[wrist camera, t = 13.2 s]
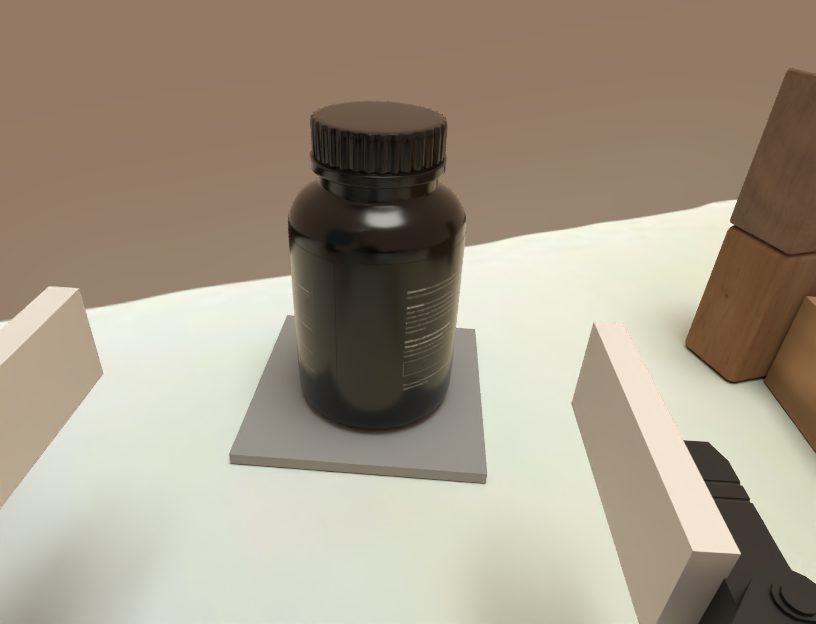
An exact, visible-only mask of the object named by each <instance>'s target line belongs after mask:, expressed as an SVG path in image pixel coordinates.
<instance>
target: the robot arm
mask: <svg viewBox="0 0 816 624" xmlns="http://www.w3.org/2000/svg"><path fill="white" fill-rule="evenodd" d="M102 375H103V371H102V367H101V364H100V360H99V356H98V353H97V349H96V346H95V342H94V339H93V335H92V332H91V328H90V325H89V321H88V318H87V314H86V311H85V308H84V304H83V300H82V297H81V293H80V290H79V288H66V287H50V286H49V287H48V288H47V289H46V290H45V291H43V292H42V293H41V294H40V295H39V296H38V297H37V298H36V299H34V300H33V301H32V302H31V303H30V304H29V305H28V306H27V307H26V308H24V310H22V311H21V312H20V313H19V314H18V315H17V316H16V317H14V318H13V319H12V320H11V321H10V322H9V323H8V324H7V325H5V326H4V327H3V328H2V329H1V330H0V509H1V507H2V506H3V505H4V504H5V502H6V501H7V500H8V498H9V497H10V496H11V494H12V493H13V492H14V490H15V489H16V488H17V486H18V485H19V484H20V483H21V481H22V480H23V479H24V477H25V476H26V475H27V473H28V472H29V471H30V469H31V468H32V467H33V465H34V464H35V463H36V462H37V460H38V459H39V458H40V456H41V455H42V454H43V452H44V451H45V450H46V448H47V447H48V446H49V444H50V443H51V442H52V440H53V439H54V438H55V437H56V435H57V434H58V433H59V431H60V430H61V429H62V427H63V426H64V425H65V423H66V422H67V421H68V419H69V418H70V417H71V416H72V414H73V413H74V412H75V410H76V409H77V408H78V406H79V405H80V404H81V402H82V401H83V400H84V398H85V397H86V396H87V394H88V393H89V392H90V391H91V389H92V388H93V387H94V385H95V384H96V383H97V381H98V380H99V379H100V377H101V376H102ZM572 407H573V410H574V414H575V417H576V420H577V423H578V427H579V430H580V433H581V436H582V440H583V443H584V446H585V449H586V453H587V456H588V459H589V462H590V466H591V469H592V472H593V475H594V479H595V482H596V485H597V489H598V492H599V495H600V498H601V502H602V505H603V508H604V511H605V515H606V518H607V521H608V524H609V528H610V531H611V534H612V537H613V541H614V544H615V547H616V550H617V554H618V557H619V560H620V563H621V567H622V570H623V573H624V577H625V580H626V583H627V586H628V590H629V593H630V596H631V599H632V603H633V606H634V609H635V612H636V616H637V619H638V622H639V624H816V584H815V583H814V582H812V581H811V580H810V579H808V578H807V577H806V576H803V575H801V574H799V573H797V572H794V571H792V570H791V568H790V567H789V566H788V564H787V562H786V560H785V559H784V557H783V555H782V553H781V552H780V550H779V548H778V546H777V545H776V543H775V541H774V540H773V538H772V536H771V534H770V533H769V531H768V529H767V527H766V526H765V524H764V522H763V520H762V519H761V517H760V515H759V513H758V512H757V510H756V508H755V507H754V505H753V503H750V498H749V496H748V494H747V493H746V491H745V489H744V487H743V486H740V480H739V479H738V477H737V475H736V474H735V472H734V470H733V468H732V467H731V465H730V463H729V461H728V460H727V459H726V458H725V457H724V456H722V455H721V454H720V453H719V452H718V451H717V450H716V449H715V448H714V447H713V446H712V445H711V444H710V443H709V442H700V441H685V440H683V439H682V437H681V435H680V433H679V431H678V429H677V427H676V425H675V423H674V421H673V419H672V417H671V415H670V413H669V411H668V410H667V408H666V406H665V404H664V402H663V400H662V398H661V396H660V394H659V392H658V390H657V388H656V386H655V384H654V382H653V380H652V378H651V376H650V374H649V372H648V370H647V368H646V366H645V364H644V362H643V360H642V358H641V356H640V355H639V353H638V351H637V349H636V347H635V345H634V343H633V341H632V339H631V337H630V335H629V333H628V331H627V329H626V327H625V325H624V324H622V323H606V322H594V323H593V326H592V330H591V334H590V338H589V341H588V345H587V349H586V352H585V356H584V360H583V363H582V367H581V371H580V374H579V378H578V382H577V385H576V389H575V393H574V396H573V400H572Z"/></svg>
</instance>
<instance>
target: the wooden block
mask: <svg viewBox="0 0 816 624" xmlns="http://www.w3.org/2000/svg"><path fill="white" fill-rule="evenodd" d="M730 222H731V223H732V224H734V226H732V227H730V228H729V230H728V231H727V234H726V236H725V239H724V241H723V244H722V247H721V249H720V252H719V255H718V257H717V260H716V262H715V265H714V268H713V270H712V273H711V276H710V278H709V281H708V283H707V286H706V289H705V291H704V294H703V297H702V299H701V302H700V304H699V307H698V310H697V312H696V315H695V318H694V320H693V323H692V325H691V328H690V331H689V333H688V336H687V339H686V345H687V347H688V348H690V349H691V350H692V351H693V352H694V353H696V354H697V355H698V356H699V357H700V358H702V359H703V360H704V361H705V362H706V363H708V364H709V365H710V366H711V367H712V368H713V369H715V370H716V371H717V372H718V373H719V374H721V375H722V376H723V377H724V378H725V379H727V380H729V381H732V382H737V381H743V380H748V379H753V378H758V377H764V376H767V374H768V372H769V370H770V368H771V366H772V364H773V362H774V360H775V358H776V356H777V354H778V351H779V349H780V347H781V345H782V343H783V341H784V339H785V337H786V335H787V333H788V331H789V329H790V327H791V325H792V323H793V321H794V319H795V317H796V315H797V313H798V311H799V309H800V307H801V305H802V303H803V301H804V299H805V297H806V296H812V297H816V74H815V73H811V72H806V71H802V70H797V69H793V68H789V69H788V70H787V72H786V74H785V77H784V80H783V82H782V85H781V87H780V90H779V92H778V95H777V98H776V100H775V103H774V106H773V108H772V111H771V113H770V116H769V119H768V121H767V124H766V127H765V129H764V132H763V135H762V137H761V140H760V143H759V145H758V148H757V150H756V153H755V156H754V158H753V161H752V163H751V166H750V169H749V171H748V174H747V177H746V180H745V182H744V185H743V187H742V190H741V193H740V195H739V198H738V200H737V203H736V206H735V208H734V211H733V213H732V216H731V219H730Z"/></svg>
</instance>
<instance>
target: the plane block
mask: <svg viewBox="0 0 816 624" xmlns="http://www.w3.org/2000/svg"><path fill="white" fill-rule="evenodd" d="M764 382H765V384H766V385H767V386H768V388H769V389H770V390H771V392H772V393H773V395H774V396H775V397H776V399H777V400H778V401H779V403H780V404H781V405H782V407H783V408H784V410H785V411H786V412H787V414H788V415H789V416H790V418H791V419H792V420H793V422H794V423H795V424H796V426H797V427H798V429H799V430H800V431H801V433H802V434H803V435H804V437H805V438H806V439H807V441H808V442H809V444H810V445H811V446H812V448H813V449H814V450H815V452H816V297H812V296H806V297H805V299H804V301H803V303H802V305H801V307H800V309H799V311H798V313H797V315H796V317H795V319H794V321H793V323H792V325H791V327H790V329H789V331H788V333H787V335H786V337H785V339H784V341H783V343H782V345H781V347H780V349H779V351H778V354H777V356H776V358H775V360H774V362H773V364H772V366H771V368H770V370H769V372H768V374H767V376H766V378H765V380H764Z"/></svg>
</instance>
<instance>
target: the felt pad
mask: <svg viewBox="0 0 816 624" xmlns="http://www.w3.org/2000/svg"><path fill="white" fill-rule="evenodd" d="M229 456H230V463H234V464H247V465H260V466H273V467H285V468H298V469H311V470H324V471H336V472H349V473H362V474H375V475H388V476H400V477H413V478H426V479H439V480H451V481H464V482H477V483H486V478H487V467H486V455H485V443H484V431H483V419H482V407H481V395H480V383H479V371H478V359H477V347H476V335H475V329H464V328H456V333H455V343H454V352H453V362H452V370H451V378H450V384H449V388H448V391H447V393H446V395H445V397H444V399H443V400H442V402H441V403H440V404H439V405H438V406H437V407H436V408H435V409H434V410H433V411H432V412H431V413H429V414H428V415H427V416H425V417H423V418H422V419H420V420H418V421H416V422H414V423H411V424H408V425H405V426H402V427H397V428H392V429H384V430H366V429H358V428H353V427H348V426H345V425H342V424H339V423H337V422H334V421H332V420H330V419H328V418H327V417H325V416H323V415H322V414H321V413H319V412H318V411H317V410H316V409H315V408H314V407H313V406H312V405H311V404H310V403H309V402H308V400H307V399H306V397H305V395H304V393H303V391H302V388H301V384H300V377H299V366H298V356H297V342H296V329H295V316H291V315H287V317H286V320H285V322H284V325H283V327H282V329H281V332H280V334H279V336H278V339H277V341H276V344H275V346H274V348H273V351H272V353H271V356H270V358H269V360H268V363H267V365H266V367H265V370H264V372H263V375H262V377H261V379H260V382H259V384H258V387H257V389H256V391H255V394H254V396H253V399H252V401H251V403H250V406H249V408H248V410H247V413H246V415H245V418H244V420H243V422H242V425H241V427H240V430H239V432H238V434H237V437H236V439H235V441H234V444H233V446H232V449H231V451H230V453H229Z"/></svg>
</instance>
